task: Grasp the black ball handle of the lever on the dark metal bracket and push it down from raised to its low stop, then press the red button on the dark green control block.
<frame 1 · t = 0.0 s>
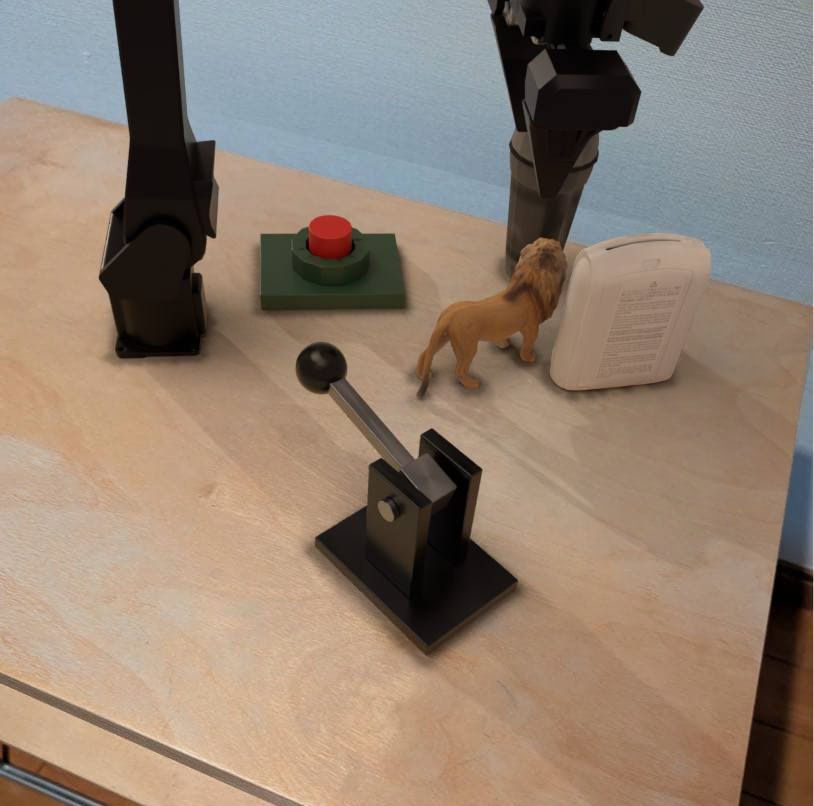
hand: (534, 162, 65), 15 cm above the table, tool pointing down, fingers open, 9 cm apart
bracket: (414, 569, 60), on the table
beverage cup: (529, 273, 82), on the table
button: (330, 237, 76), point 4 cm above the table, slide at 0.1 cm
photo printer: (609, 375, 74), on the table
lion figurine: (484, 361, 74), on the table
lever: (370, 425, 55), point 9 cm above the table, hinge at 15.0°
control block: (330, 279, 79), on the table
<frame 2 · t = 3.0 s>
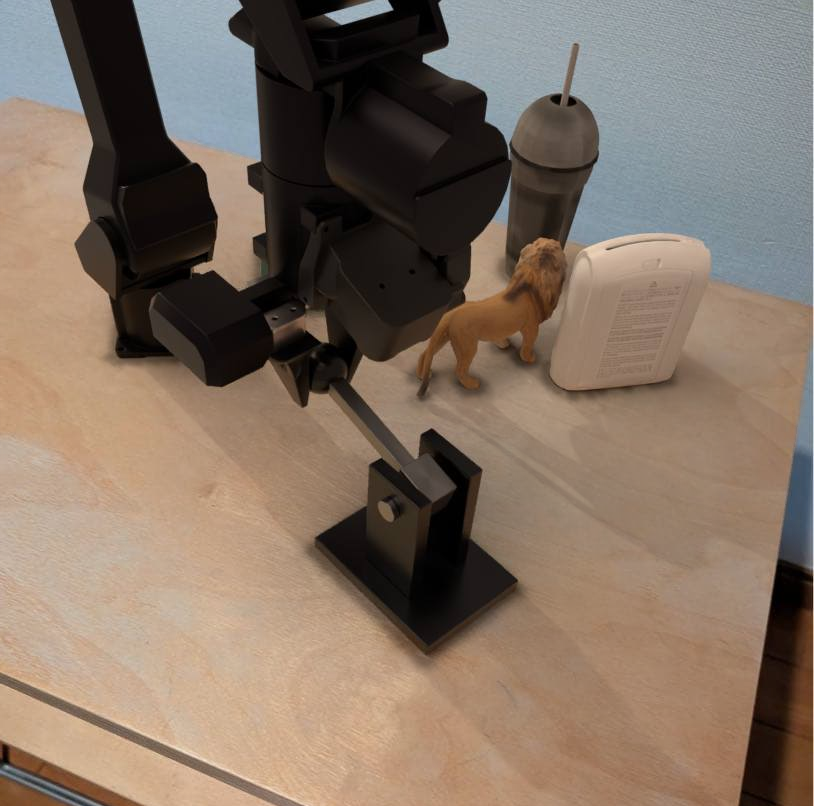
hand: (321, 392, 58), 9 cm above the table, tool pointing down, fingers closed on lever, 3 cm apart
lever: (370, 425, 55), point 9 cm above the table, hinge at 15.0°, touching gripper
everything else where it was.
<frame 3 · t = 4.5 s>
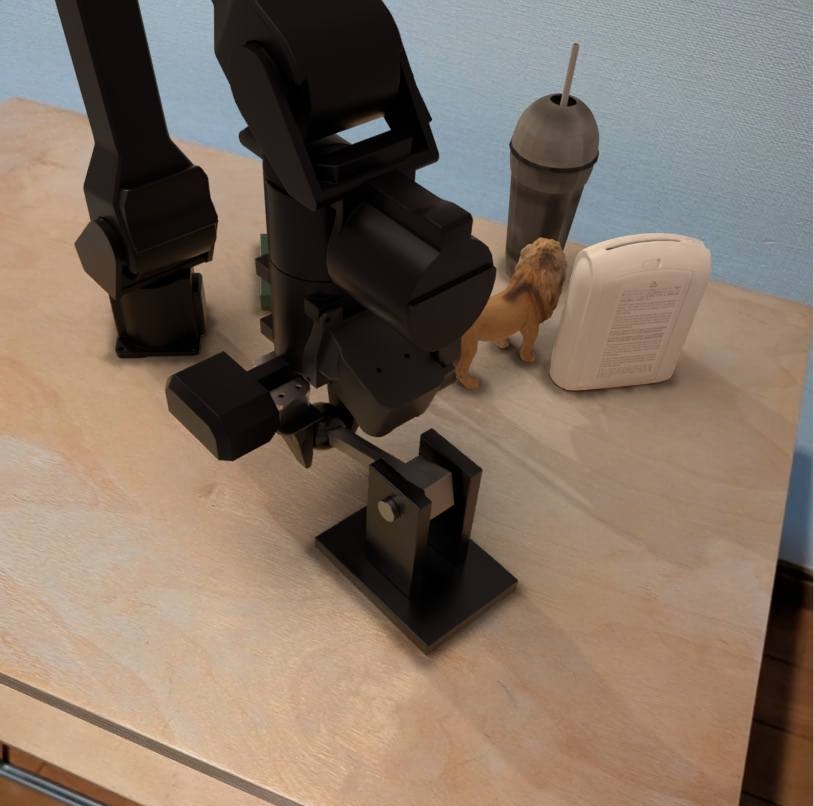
hand: (323, 453, 62), 3 cm above the table, tool pointing down, fingers closed on lever, 3 cm apart
lever: (368, 454, 57), point 7 cm above the table, hinge at -13.8°, touching gripper
everything else where it was.
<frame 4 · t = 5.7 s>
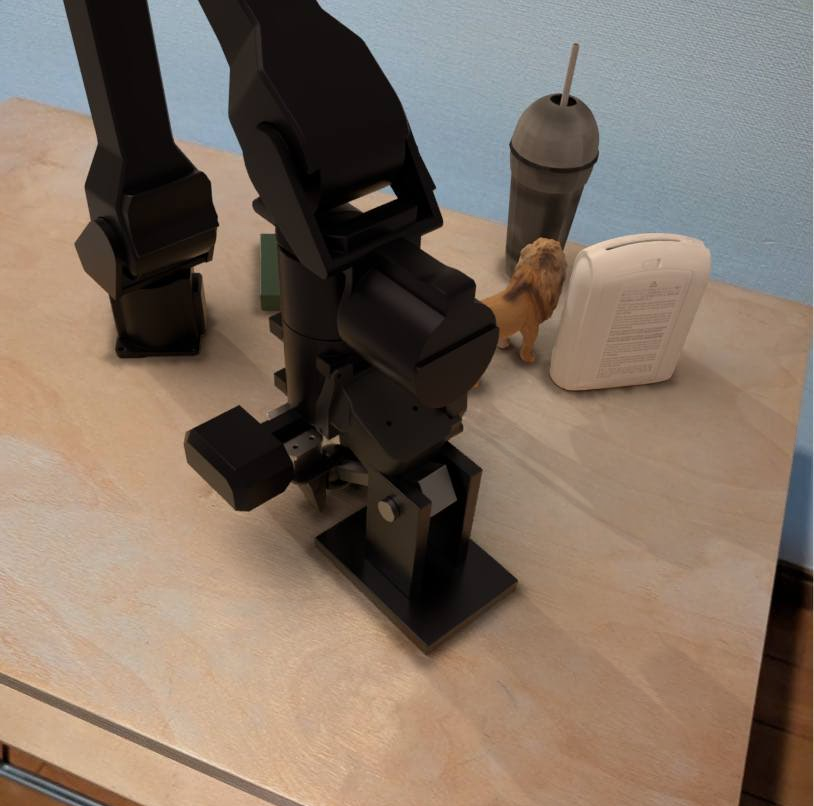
hand: (336, 497, 64), 0 cm above the table, tool pointing down, fingers closed on lever, 3 cm apart
lever: (374, 476, 58), point 5 cm above the table, hinge at -31.7°, touching gripper
everything else where it was.
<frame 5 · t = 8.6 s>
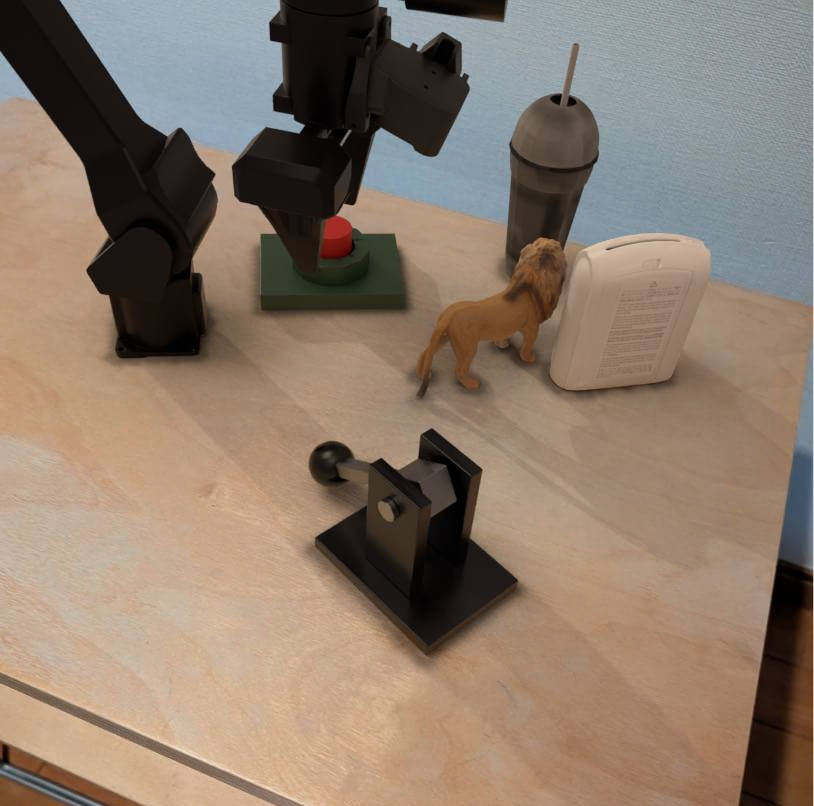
hand: (329, 236, 64), 11 cm above the table, tool pointing down, fingers open, 9 cm apart
lever: (374, 475, 58), point 5 cm above the table, hinge at -30.5°
everything else where it was.
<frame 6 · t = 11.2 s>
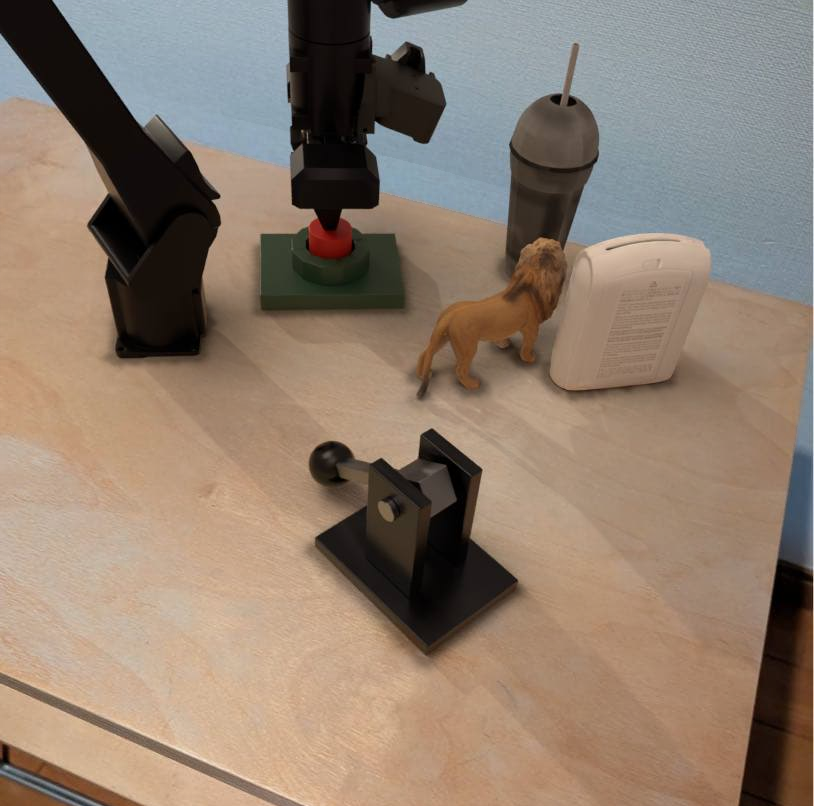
hand: (329, 228, 75), 5 cm above the table, tool pointing down, fingers closed, pressing on button
button: (330, 238, 76), point 4 cm above the table, slide at 0.0 cm, touching gripper
everything else where it was.
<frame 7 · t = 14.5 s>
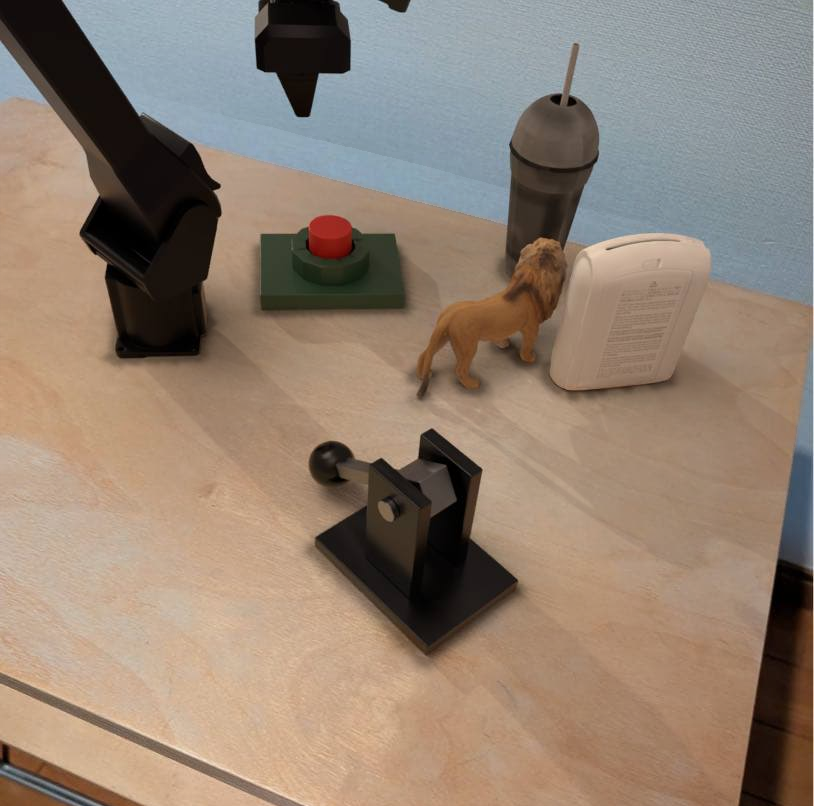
hand: (302, 115, 71), 13 cm above the table, tool pointing down, fingers closed
button: (330, 237, 76), point 4 cm above the table, slide at 0.1 cm
everything else where it was.
at the end: lever at -30° (first picture: +15°); button pushed in 1.2 cm at the most during the clip, back to where it started at the end; button slide at 0.1 cm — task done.
